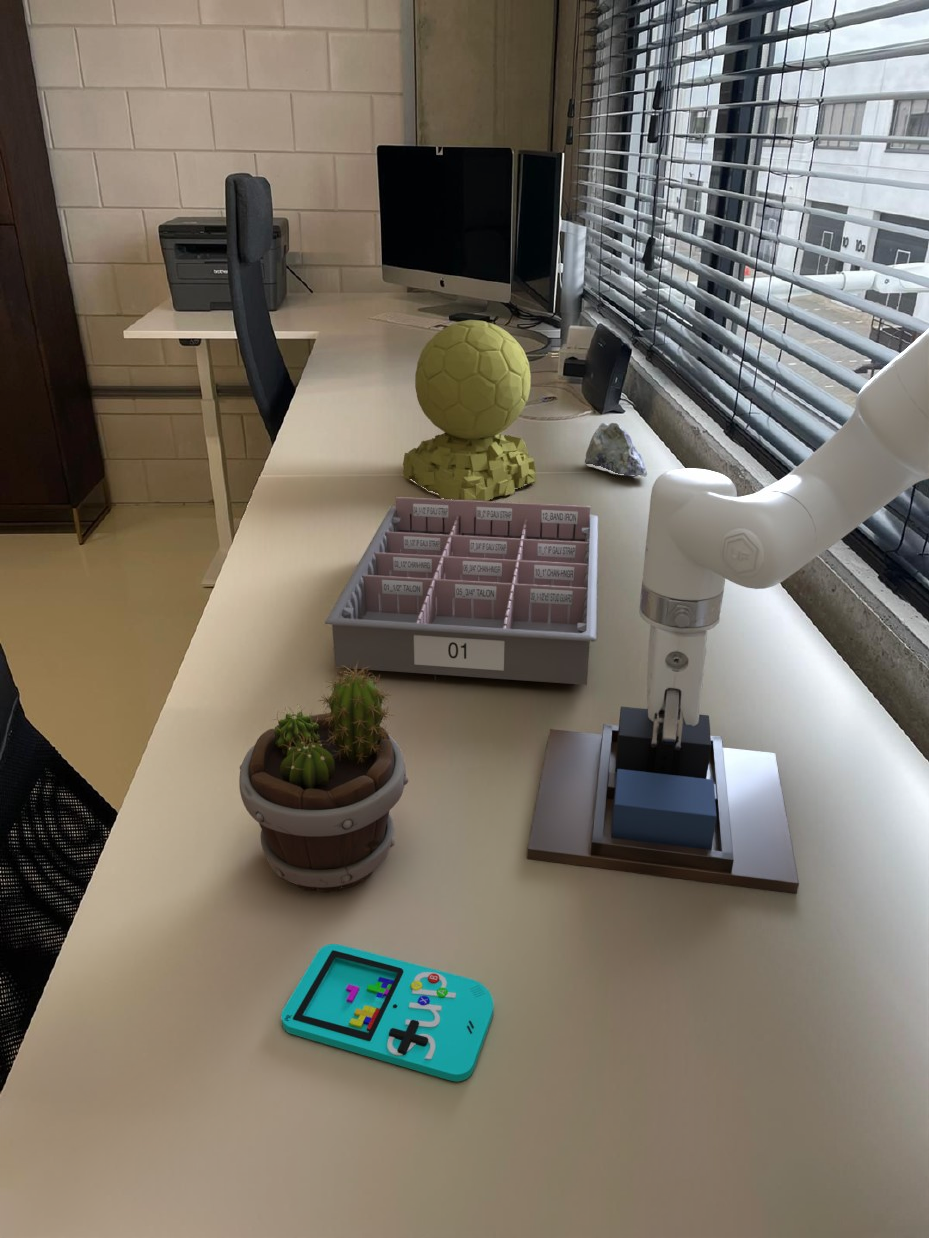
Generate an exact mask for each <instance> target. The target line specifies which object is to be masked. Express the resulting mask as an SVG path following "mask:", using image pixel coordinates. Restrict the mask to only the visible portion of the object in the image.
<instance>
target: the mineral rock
mask: <svg viewBox="0 0 929 1238" xmlns="http://www.w3.org/2000/svg"><path fill="white" fill-rule="evenodd" d="M585 463H586V464H593V465H595V466H601V467H603V468H606V469H608V470H611V471H613V472H615V473H618V474H624V475H625V476H627V475H640V476H639V477H644V478H645V477H648V470H647V468H646V466H645V463H644V459H643V457H642V455H641V453H639V451H638V450H637V449H636V446H635V445H634V443H633V441H632V438H631V436H630V435H629V434H628V432H627V431H626V430H625V429H624V428H623V427H621V426H620V424H619V423H618V422H610V423H609V424H608V423H605V422H602V423H601V424H599V426H598V428H597V429H596V430H595V431H594V433H593V435H592V437H591V439H590V441H589V444H588V447H587V449H586V452H585V459H584V464H585Z"/></svg>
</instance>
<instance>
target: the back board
mask: <svg viewBox="0 0 929 1238" xmlns="http://www.w3.org/2000/svg"><path fill="white" fill-rule="evenodd" d="M618 730H619V725H615V724H614V725H613V724H605V723H603V725H602V732H601V733H602V734H600V733H591V732H583V731H572V730H564V729H554V728H549V732H548V739H547V744H546V749H545V754H544V759H543V763H542V764H543V765H542V770H541V775H540V780H539V785H538V790H537V795H536V800H535V801H536V802H535V806H534V813H533V818H532V823H531V827H530V832H529V838H528V843H527V849H526V859H528V860H536V861H542V862H544V861H545V862H551V863H558V864H566V865H573V866H575V865H576V866H581V867H582V866H583V867H589V868H597V869H599V868H600V869H605V870H612V871H621V872H628V873H636V874H642V875H643V874H644V875H649V876H650V875H651V876H658V877H666V878H674V879H683V880H689V881H697V882H706V883H713V884H721V885H728V886H736V887H744V888H750V889H751V888H752V889H759V890H766V891H774V892H782V893H790V894H797V893H798V890H799V885H800V881H799V876H798V871H797V865H796V859H795V854H794V849H793V843H792V838H791V832H790V826H789V821H788V814H787V810H786V805H785V800H784V793H783V788H782V783H781V782H782V781H781V777H780V771H779V766H778V761H777V754H776V752H769V751H760V750H750V749H740V748H731V747H724V746H723V745H724V744H723V737H722V736H719V735H711V751H710V758H709V764H708V771H707V778H706V779H711V780H714V790H715V803H716V816H717V817H716V823H715V829H714V836H713V842H712V848H711V850H706V849H698V848H690V847H682V846H674V845H666V844H658V843H650V842H642V841H634V840H626V839H618V838H611V834H612V821H613V807H614V796H615V786H616V776H617V772H615V767H616V754H617V741H618Z"/></svg>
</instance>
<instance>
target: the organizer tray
mask: <svg viewBox="0 0 929 1238" xmlns="http://www.w3.org/2000/svg"><path fill="white" fill-rule="evenodd" d="M394 500H395V505H390V507H389V509H388V511H387V512H386V514H385V516H384V518H383V519H382V521H381V523H380V525H378V526H379V527H378V528H377V530H376V532H375V533H374V535H373V537H372V539H371V541H370V542H369V543H368V545H367V548H365V551H364V553H363V555H362V556H361V558H360V560H359V562H358V563H357V565H356V567H355V568H354V570H353V572H352V574H351V575H350V577H349V579H348V581H347V583H346V585H344V588H343V589H342V592H341V594H339V596H338V598H337V599H336V602H335V604H334V606H332V607H333V608H332V609H331V611H330V612H329V615H328V616H327V618H326V619H325V621H324V624H325V625H328V626H329V625H330V626H331V627H332V629H331V630H332V644H333V659H334V668H338V669H339V668H340V669H346V668H345V667H344V666H346V667H347V666H348V668H349V669H353V670H354V668H355V666H356V663H357V661H358V660H359V659H360V660H359V662H358V664H357V670H362V667H363V669H364V668H366V667H368V668H366V669H364V670H368V669H370V670H368V671H381V672H382V671H383V672H396V673H397V672H398V673H411V674H426V675H438V676H439V675H440V676H455V677H469V678H484V679H497V680H512V681H525V682H526V681H527V682H541V683H553V684H554V683H556V684H568V685H569V684H570V685H571V684H572V685H583V686H587V685H588V673H589V659H590V646H591V645H590V643H592V642H593V643H594V642H596V641H597V637H598V636H597V633H598V631H597V629H598V628H597V627H598V626H597V625H598V623H597V622H598V621H597V620H598V561H599V560H598V559H599V558H598V553H599V552H598V550H599V516H598V515H594V514H591V509H592V508H591V506H590V505H573V504H572V505H571V504H570V505H569V504H549V503H531V502H530V503H529V502H526V503H525V502H512V501H511V502H507V501H491V500H488V501H469V500H449V499H440V498H427V497H426V498H425V497H407V496H404V497H403V496H395V499H394ZM363 664H364V665H363ZM342 665H343V666H342ZM369 666H370V667H369ZM436 679H437V677H436V676H434V680H436Z"/></svg>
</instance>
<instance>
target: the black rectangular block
mask: <svg viewBox="0 0 929 1238" xmlns="http://www.w3.org/2000/svg"><path fill="white" fill-rule="evenodd" d="M659 715H664V711H661V710H660V711H659ZM678 717H679V712H678ZM710 723H711V722H710V716H709V715H708V714H700V713H699V722H698V724H697V725H695V726H692V725H686V723H685V720H684V718H683V726H682V736H681V744H682V751H681V758H680V766H679V773H678V776H685V777H694V778H703V779H706V778H707V771H708V764H709V758H710V751H711V736H712V735H711V726H710ZM618 726H619V730H618V741H617V754H616V767H615V772H617V769H623V770H632V771H641V772H645V770H646V761H647V753H648V744H649V741H652V732H653V721H651V720H650V719H649V717H648V708H639V707H631V706H620V711H619V721H618ZM662 730H663V723H659V731H658V734H659V732H660V731H662Z"/></svg>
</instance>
